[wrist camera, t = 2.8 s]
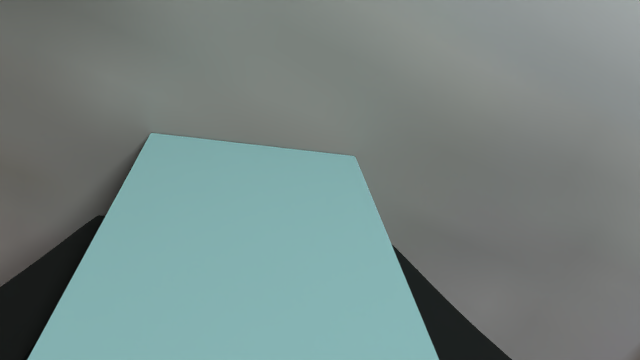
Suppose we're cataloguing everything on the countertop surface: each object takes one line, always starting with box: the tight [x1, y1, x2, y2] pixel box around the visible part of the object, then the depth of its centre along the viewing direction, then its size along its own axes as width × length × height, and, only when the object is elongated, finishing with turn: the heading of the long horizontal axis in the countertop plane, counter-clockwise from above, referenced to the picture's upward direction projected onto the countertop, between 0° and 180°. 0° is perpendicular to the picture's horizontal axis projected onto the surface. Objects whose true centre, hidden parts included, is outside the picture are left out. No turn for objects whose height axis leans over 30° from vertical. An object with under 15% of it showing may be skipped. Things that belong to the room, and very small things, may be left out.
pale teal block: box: [27, 133, 439, 360], centre depth 8 cm, size 4×4×6 cm
